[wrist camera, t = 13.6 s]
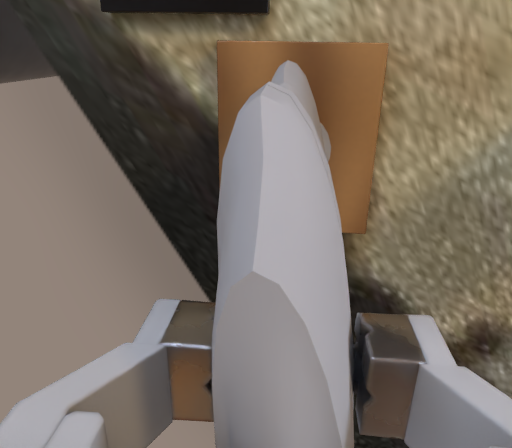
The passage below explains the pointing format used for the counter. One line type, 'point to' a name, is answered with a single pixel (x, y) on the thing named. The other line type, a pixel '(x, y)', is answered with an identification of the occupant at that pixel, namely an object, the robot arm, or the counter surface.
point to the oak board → (317, 105)
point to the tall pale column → (281, 280)
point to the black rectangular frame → (187, 6)
